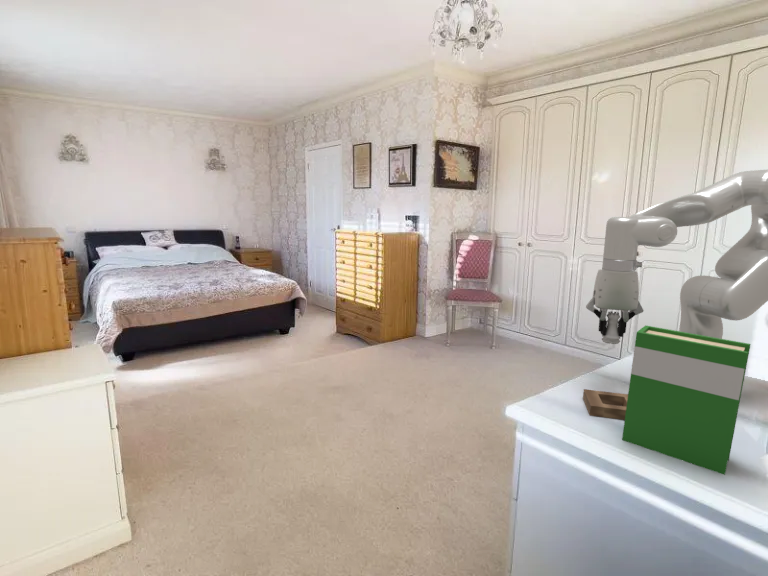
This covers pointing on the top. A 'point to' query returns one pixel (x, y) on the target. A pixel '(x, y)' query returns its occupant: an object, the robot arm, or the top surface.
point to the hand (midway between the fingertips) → (611, 334)
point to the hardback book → (685, 395)
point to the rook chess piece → (612, 329)
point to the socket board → (605, 404)
